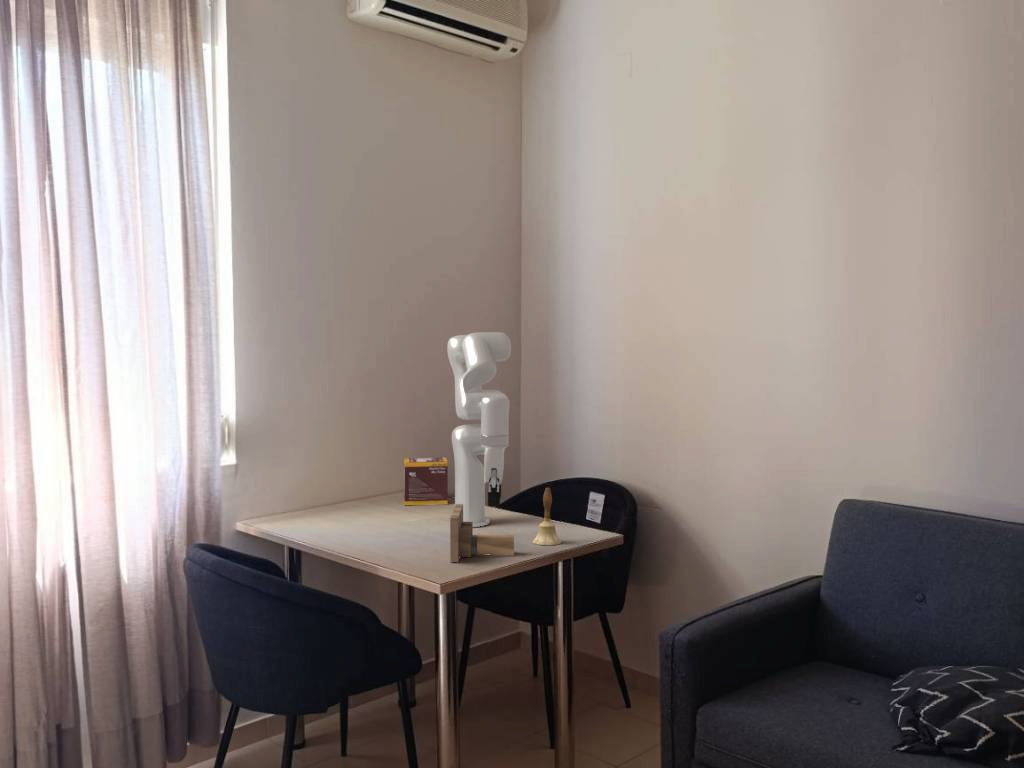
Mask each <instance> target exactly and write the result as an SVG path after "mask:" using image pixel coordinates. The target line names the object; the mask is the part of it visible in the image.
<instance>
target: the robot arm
mask: <svg viewBox="0 0 1024 768" xmlns="http://www.w3.org/2000/svg"><path fill="white" fill-rule="evenodd" d="M446 349H447V357H448V361H449V365H450V366H451V369H452V373H453V377H454V395H455V396H454V399H455V400H454V401H455V413H456V416H457V417H458V418H459V420H463V421H480V423H479V424H478V423H477V424H476V423H475V424H474V423H473V424H463V425H458V426H456V427H455V428H454V429H453V430H452V432H451V444H452V445H451V446H452V450H453V451H452V452H453V457H454V458H453V459H454V507H455V506H456V504H463V522H473V528H479V527H480V526H481V527H485V525H486V526H488V525H489V523H490V524H491V520H490V518H488V517H486V484H487V483H488V491H487V506H488V508H489V507H490V508H493V507H495V508H499V507H500V506H501V498H502V484H501V483H502V482H503V477H504V466H505V451H506V449H507V448H508V447H509V431H510V429H509V423H510V422H509V421H510V418H509V415H510V414H509V412H510V407H511V404H510V399H509V398H508V395H506V393H503V392H502V391H500V390H497V389H483V387H482V386H484V385H485V384H487V383H489V382H490V381H492V380H494V378H495V377H496V374H497V365H496V362H497V363H498V362H504V361H507V360H508V359H509V358H510V356H511V353H512V343H511V340H510V337H509V336H508V335H507V334H506V333H504V332H503V331H502V332H501V331H500V332H499V331H494V332H490V331H489V332H488V331H485V332H484V331H481V332H480V331H479V332H472V333H469V334H459V335H454V336H452V337H449V339H448V342H447V346H446ZM479 455H480V456H481V455H484V456H483V459H484V460H483V462H484V463H482V462H481V461H480V460H479V458H478V457H477V456H479Z"/></svg>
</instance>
